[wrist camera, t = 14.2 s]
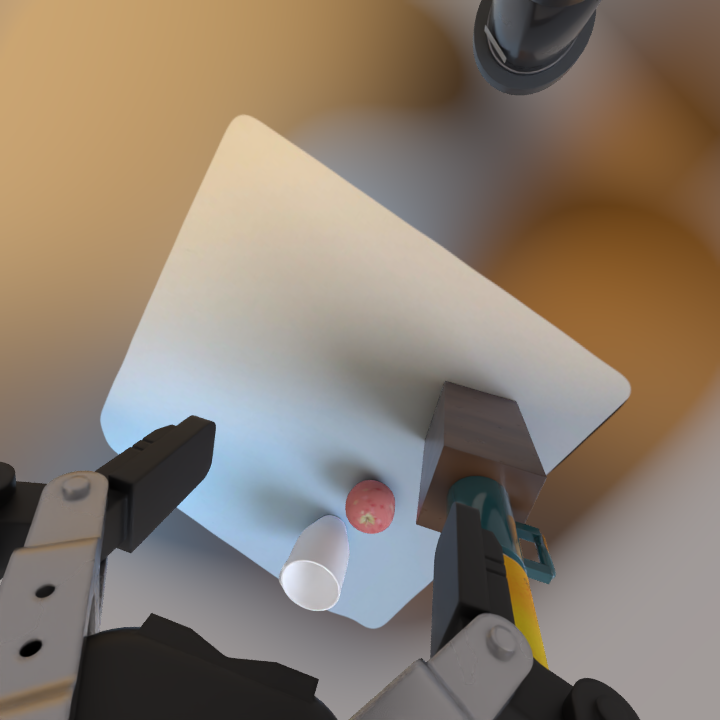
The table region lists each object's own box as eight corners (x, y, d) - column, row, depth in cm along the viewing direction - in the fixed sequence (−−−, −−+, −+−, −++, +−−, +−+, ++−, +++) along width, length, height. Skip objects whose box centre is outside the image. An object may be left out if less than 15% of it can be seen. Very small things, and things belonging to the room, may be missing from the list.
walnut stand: (444, 380, 56) (443, 445, 39) (516, 401, 55) (547, 477, 38) (424, 441, 59) (415, 524, 43) (491, 462, 58) (509, 556, 41)
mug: (338, 498, 66) (316, 553, 54) (368, 539, 67) (352, 601, 56) (284, 522, 70) (253, 578, 58) (313, 560, 71) (288, 623, 60)
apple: (357, 464, 63) (345, 495, 56) (402, 477, 62) (396, 511, 55) (348, 501, 66) (335, 536, 58) (392, 515, 65) (384, 552, 57)
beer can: (479, 614, 33) (502, 893, 19) (431, 563, 33) (418, 813, 19) (543, 584, 31) (621, 873, 17) (492, 529, 31) (530, 782, 17)
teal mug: (456, 467, 40) (459, 531, 31) (550, 497, 39) (579, 571, 30) (438, 516, 42) (436, 588, 33) (527, 545, 41) (548, 628, 32)
